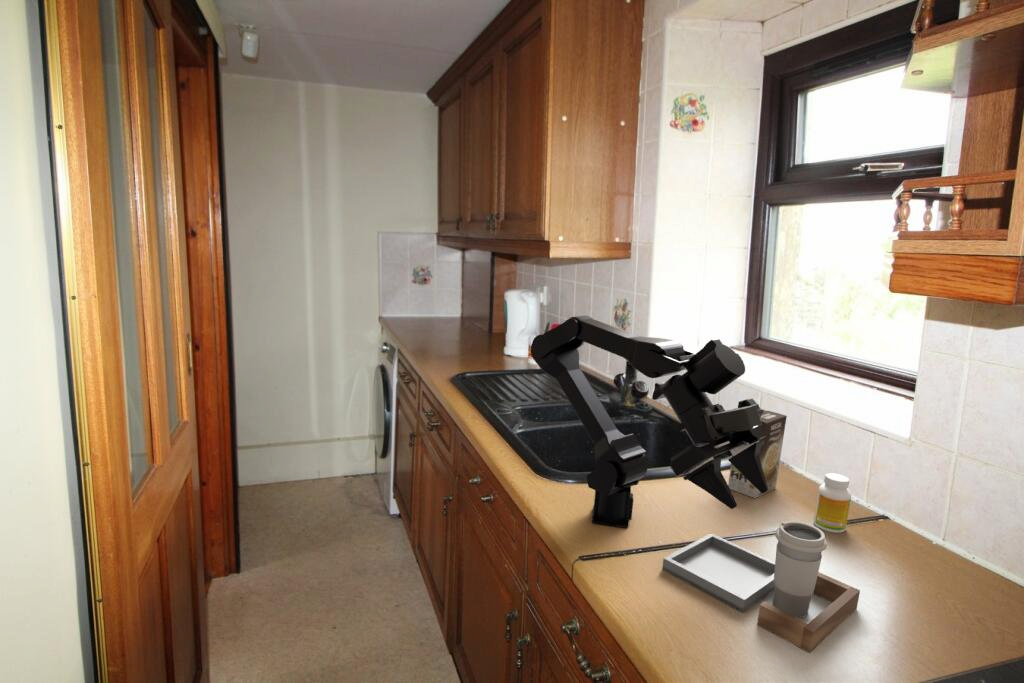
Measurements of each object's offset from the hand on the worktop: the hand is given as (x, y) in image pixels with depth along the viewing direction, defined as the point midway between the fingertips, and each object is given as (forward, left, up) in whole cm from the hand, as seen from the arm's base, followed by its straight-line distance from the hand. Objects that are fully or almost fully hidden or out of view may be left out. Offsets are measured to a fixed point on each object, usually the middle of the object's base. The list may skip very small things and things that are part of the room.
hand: (750, 499), depth 94 cm
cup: (+6, -5, -14) cm, 16 cm away
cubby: (+8, -7, -13) cm, 17 cm away
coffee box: (+9, +38, -14) cm, 41 cm away
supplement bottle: (+20, +24, -14) cm, 34 cm away
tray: (-2, +1, -13) cm, 14 cm away
